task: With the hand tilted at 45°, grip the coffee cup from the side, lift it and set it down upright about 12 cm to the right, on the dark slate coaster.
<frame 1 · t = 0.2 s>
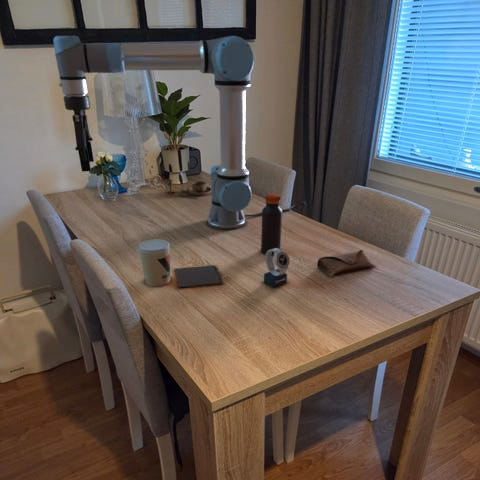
hand: (88, 166, 148), 28 cm above the table, tool pointing down, fingers open, 13 cm apart
watch: (275, 283, 137), on the table
coaster: (197, 276, 140), on the table
sunglasses case: (346, 268, 147), on the table
bottle: (270, 251, 158), on the table
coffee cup: (158, 281, 138), on the table
place setting: (193, 192, 221), on the table
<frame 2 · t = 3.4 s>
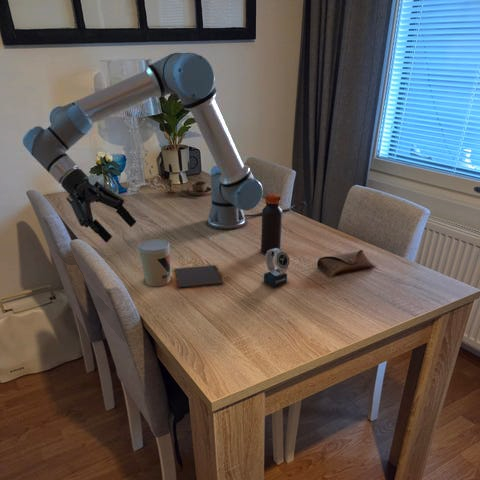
hand: (122, 231, 133), 15 cm above the table, tool tilted 45°, fingers open, 13 cm apart
nothing on the table moved.
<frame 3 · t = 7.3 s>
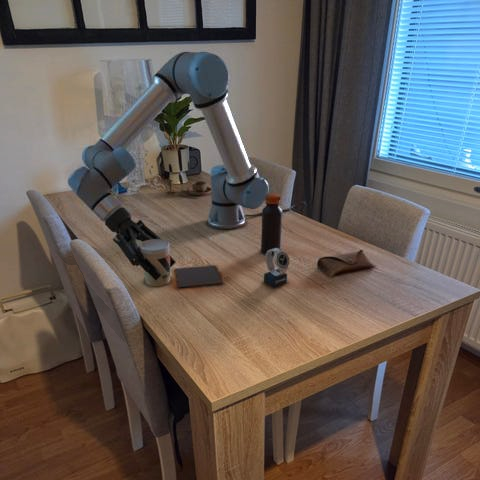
hand: (166, 271, 135), 4 cm above the table, tool tilted 45°, fingers closed on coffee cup, 9 cm apart
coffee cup: (158, 281, 138), on the table, touching gripper
everything else where it was.
when the fingers open (4 cm above the table, at t = 15.2 s): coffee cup stays where it is, resting on coaster.
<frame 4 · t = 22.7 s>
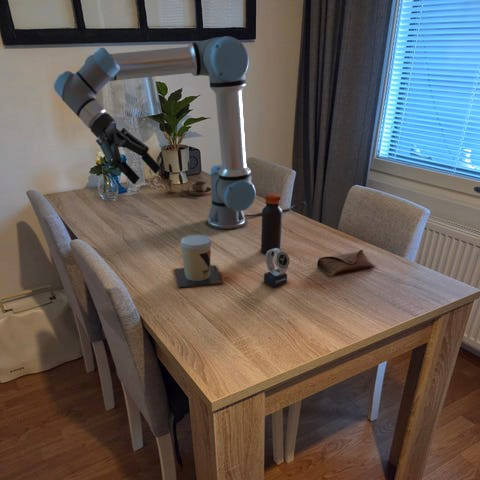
hand: (148, 175, 138), 28 cm above the table, tool tilted 45°, fingers open, 13 cm apart
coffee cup: (197, 276, 140), resting on coaster
everything else where it was.
at the end: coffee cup 0.1 cm off-centre on the coaster, point 0.3 cm above the coaster's base; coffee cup tilted 0°; the gripper is holding nothing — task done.
